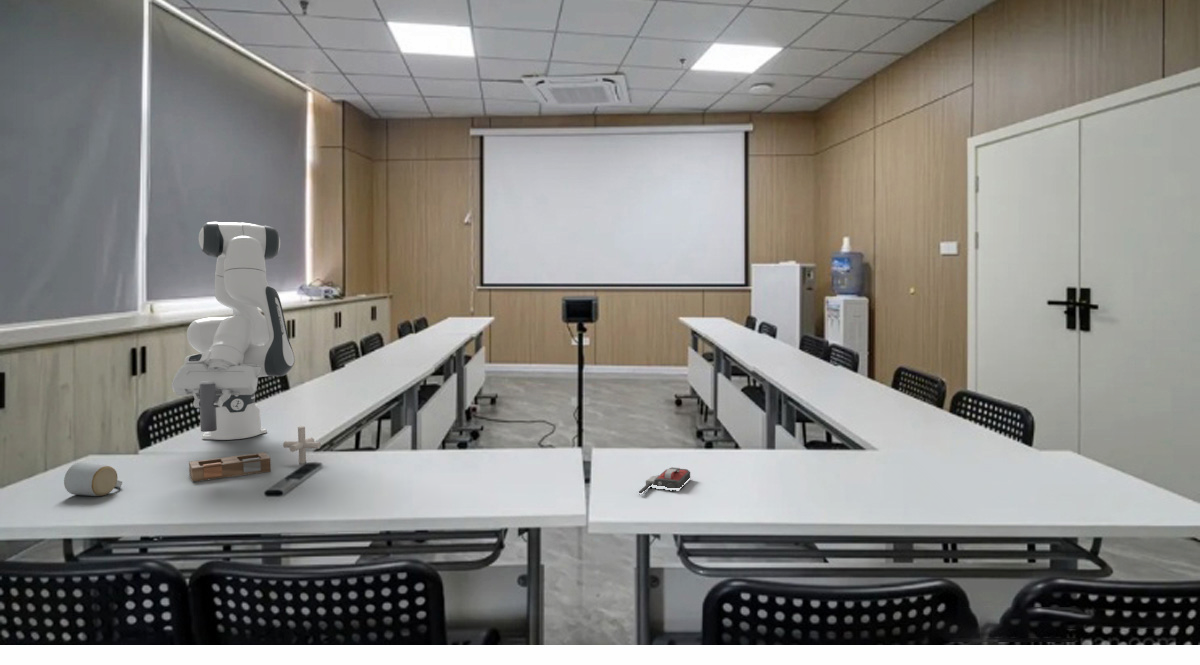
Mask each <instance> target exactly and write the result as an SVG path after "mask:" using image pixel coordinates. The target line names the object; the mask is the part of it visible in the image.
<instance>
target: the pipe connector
mask: <svg viewBox="0 0 1200 665" xmlns="http://www.w3.org/2000/svg"><path fill="white" fill-rule="evenodd" d="M297 436H298V438H297V439H298V441H289V440H288V441H287V440H285V441H284V442H283V443H282V446H283V448H286V449H289V451H290V452H292V453H294V452H297V451H298V463H299V464H305V462H306V463H307V454H306V453H307V450H306V449H319V450H320V448H321V446H322V444H321V441H315V439H314V438H313V437H311V436H310V437H309V438H308V437H307V438H306V426H297Z"/></svg>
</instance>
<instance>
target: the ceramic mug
mask: <svg viewBox="0 0 1200 665" xmlns="http://www.w3.org/2000/svg"><path fill="white" fill-rule="evenodd" d="M63 485H64V488H65V490H66V491H67V493H69V494H71V495H73V496H75V495H76V496H88V497H89V496H90V497H103V496H106V495H108V494H110V493H111V492H112V491H114V489H115V488H117V489H118V488H119V489H121V488H122V485H123V481H122V480H118V473H117V470H116V469H115V468H114V467H112V466H110V465H108V464H103V463H102V464H100V463H95V462H89V461H77V462H75V463H73V464H72V465H71V466H70V467H69V468H68V469H67V471H66V472H65V475H64V479H63Z"/></svg>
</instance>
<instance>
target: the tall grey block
mask: <svg viewBox="0 0 1200 665" xmlns="http://www.w3.org/2000/svg"><path fill="white" fill-rule="evenodd" d="M199 385H200V398H199V399H200V408H199V413H200V415H199V416H200V417H199V420H200V432H202V433H205V432H210V431H216V430H217V421H216V407H215V406H214V402H215V399H216V383H214V381H202V382H201V384H199Z"/></svg>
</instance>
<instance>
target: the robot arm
mask: <svg viewBox="0 0 1200 665" xmlns="http://www.w3.org/2000/svg"><path fill="white" fill-rule="evenodd" d="M198 244H199V247H200V248H201V251H202V253H204V254H205V255H206V256H209V257H212V258H217V259H216V263H215V264H216V265H215V275H214V276H215V277H214V297H215V299H216V301H217V302H219V304H221V305H223V306H225V307H228V308H229V309H231V310H232V312H233V313H232V315H230V316H210V317H204V318H198V319H195V320H193V321H192V322H191V323H190V324H189V326H188V327H187V331H186V338H187V339H186V340H187V342H188V344H189V346H190V347H191V348H193V349H194V350H195V351H197V352H199V353H196V354H192V355H191V354H190V355H188V356H186V357H185V358H184V364H183V365H182V366H180V368H178V369H177V372H176V373H175V375H174V377H173V380H172V382H171V389H172V391H173V392H174V393H175V395H177V396H193V398H194V400H193V403H192V404H193V408H195V409H197V408H199V409H200V385H199V384H201V382H202V381H214V383H216V399H215V402H214V406H215V407H216V421H217V430H216V431H210V432H203V435H202V440H217V441H218V440H220V441H226V440H227V441H228V440H230V441H231V440H240V439H241V440H242V439H247V438H248V439H249V438H252V437H256V436H259V435H262V434H265V433H268V429H267V428H264V427H263V426H262V418H261V416H262V415H261V408H260V407H258V406H257V405H256V404H255V402H256V395H255V393H256V392H257V387H258V382H259V378H262V377H284V376H286V375H287V374H288V373H289V372H290V371H291V370H292V368H293V366H294V365H295V355H294V354H295V353H294V351H293V347H292V345H291V342H290V339H289V334H288V329H287V325H286V321H285V315H284V311H283V306H282V302H281V298H280V296H279V293H278V292H277V290H276V289H275V288H274V287H271V286H270V284H269V282H268V279H267V267H266V260H271V259H274V258H275V257H277V255H278V254H279V251H280V248H281V238H280V236H279V232H278V231H277V229H276V228H275V227H272V226H268V225H265V224H264V225H259V224H255V223H248V222H219V221H210V222H209V221H208V222H206V223H204V224H203V225H202V228H201V229H200V231H199V234H198ZM260 310H261V311H262V312H263V314H262V313H261V311H260Z"/></svg>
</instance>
